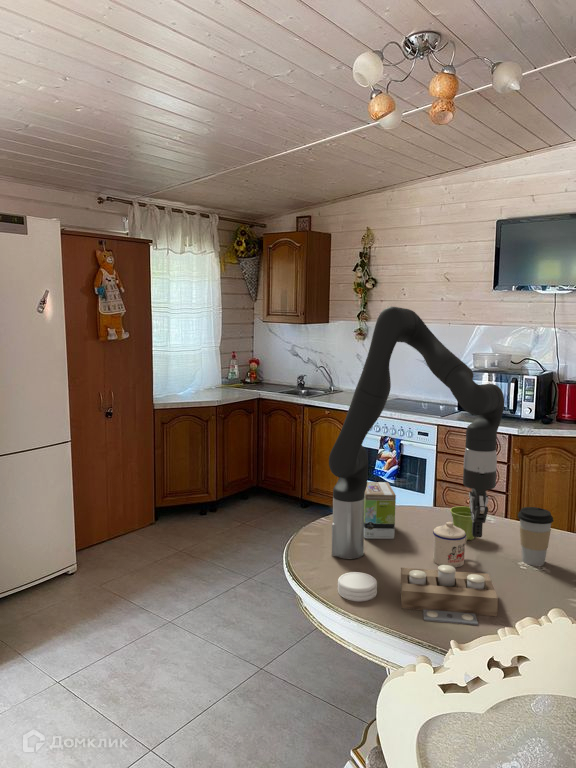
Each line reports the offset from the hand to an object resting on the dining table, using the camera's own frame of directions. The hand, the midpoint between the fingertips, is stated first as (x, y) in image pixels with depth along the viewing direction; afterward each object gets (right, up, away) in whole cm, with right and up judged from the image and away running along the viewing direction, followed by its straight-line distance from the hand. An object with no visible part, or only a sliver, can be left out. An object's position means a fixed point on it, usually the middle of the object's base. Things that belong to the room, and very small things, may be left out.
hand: (476, 536), depth 137 cm
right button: (0, -15, +2) cm, 15 cm away
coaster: (-28, -17, +7) cm, 34 cm away
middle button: (-7, -13, +3) cm, 14 cm away
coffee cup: (+25, -14, +25) cm, 38 cm away
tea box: (-17, -12, +49) cm, 53 cm away
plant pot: (+11, -12, +43) cm, 46 cm away
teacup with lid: (+1, -14, +26) cm, 30 cm away
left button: (-14, -14, +4) cm, 20 cm away
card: (-8, -18, -6) cm, 20 cm away
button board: (-7, -17, +3) cm, 18 cm away
